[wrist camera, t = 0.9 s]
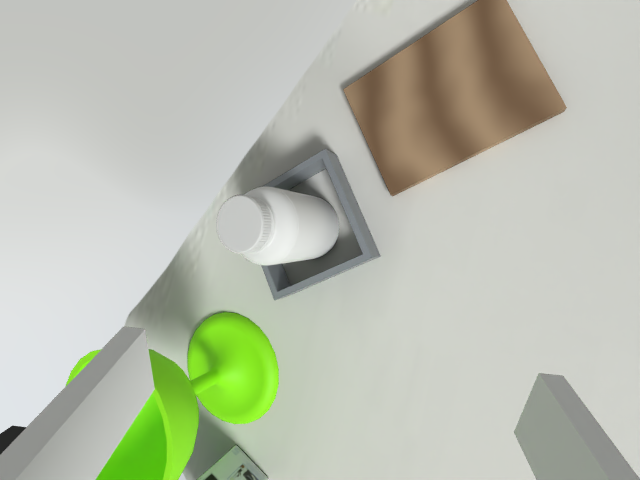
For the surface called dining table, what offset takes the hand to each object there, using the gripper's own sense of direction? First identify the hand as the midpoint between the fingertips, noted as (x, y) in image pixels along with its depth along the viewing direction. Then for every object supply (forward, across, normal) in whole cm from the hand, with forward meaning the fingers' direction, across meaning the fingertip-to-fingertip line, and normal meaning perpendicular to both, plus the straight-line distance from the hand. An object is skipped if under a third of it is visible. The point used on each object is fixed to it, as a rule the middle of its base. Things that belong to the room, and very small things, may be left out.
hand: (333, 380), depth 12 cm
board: (+33, +10, +9) cm, 35 cm away
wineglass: (+29, -14, -29) cm, 43 cm away
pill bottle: (+33, -4, -8) cm, 34 cm away
